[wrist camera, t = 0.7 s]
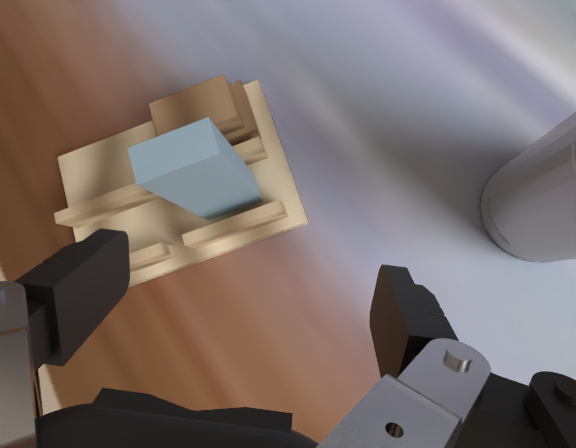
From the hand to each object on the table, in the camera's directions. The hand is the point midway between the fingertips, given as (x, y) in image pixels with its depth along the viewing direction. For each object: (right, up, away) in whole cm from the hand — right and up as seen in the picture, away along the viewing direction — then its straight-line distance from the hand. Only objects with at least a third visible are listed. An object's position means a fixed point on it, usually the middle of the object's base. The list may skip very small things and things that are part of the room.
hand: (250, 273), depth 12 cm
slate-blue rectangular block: (-4, +4, +24) cm, 25 cm away
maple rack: (-10, +5, +26) cm, 28 cm away
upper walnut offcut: (-7, +11, +23) cm, 26 cm away
